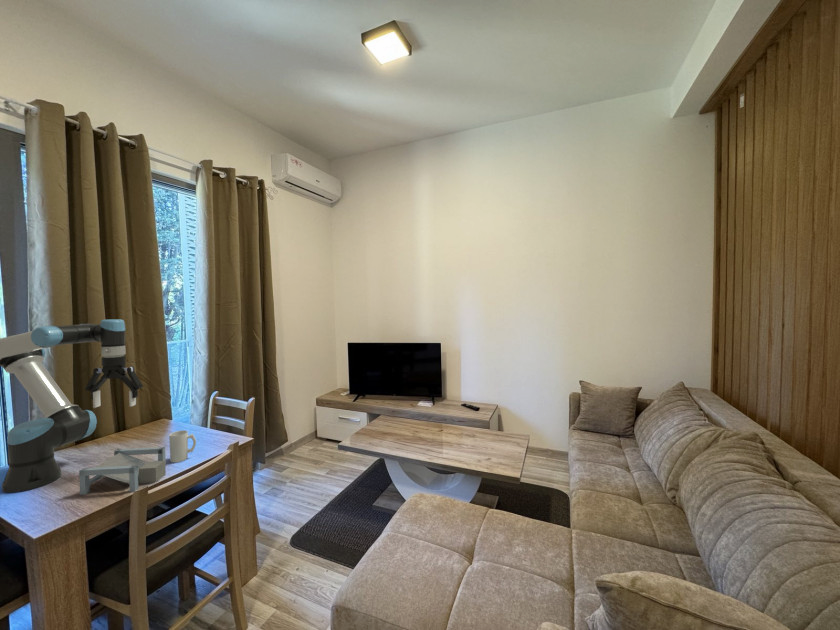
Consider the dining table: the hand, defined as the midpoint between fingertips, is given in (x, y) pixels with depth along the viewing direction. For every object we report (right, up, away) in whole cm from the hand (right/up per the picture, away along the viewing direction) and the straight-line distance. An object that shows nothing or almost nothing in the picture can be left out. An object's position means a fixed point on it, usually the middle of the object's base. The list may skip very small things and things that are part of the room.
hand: (115, 406), depth 141 cm
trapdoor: (+11, -22, -9) cm, 27 cm away
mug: (+22, -27, +10) cm, 36 cm away
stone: (+19, -24, -8) cm, 32 cm away
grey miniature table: (+12, -27, -9) cm, 31 cm away
